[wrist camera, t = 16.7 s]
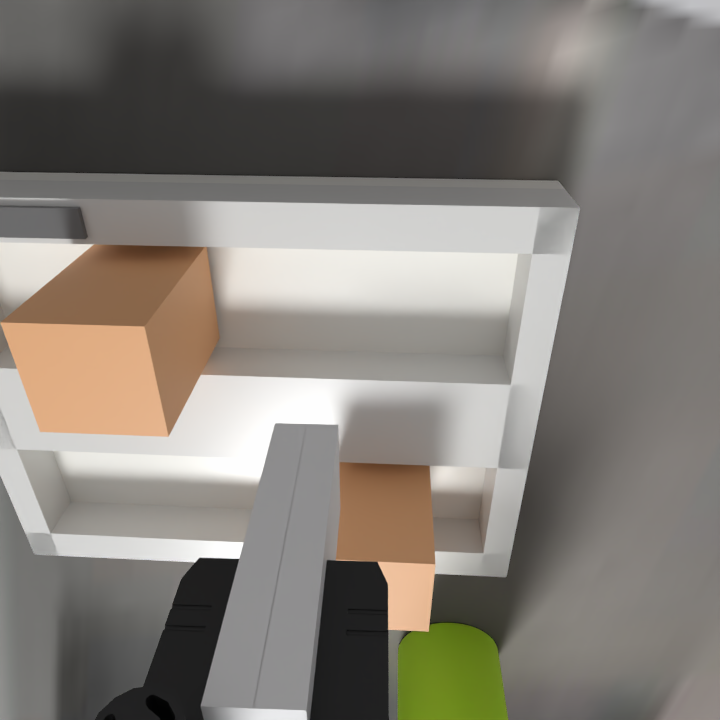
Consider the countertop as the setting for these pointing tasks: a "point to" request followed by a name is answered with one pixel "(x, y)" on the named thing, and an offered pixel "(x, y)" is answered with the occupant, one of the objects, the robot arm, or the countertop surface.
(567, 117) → the countertop surface
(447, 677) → the soap dispenser
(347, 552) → the orange rectangular block
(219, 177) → the grey compartment tray
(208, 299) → the orange block
